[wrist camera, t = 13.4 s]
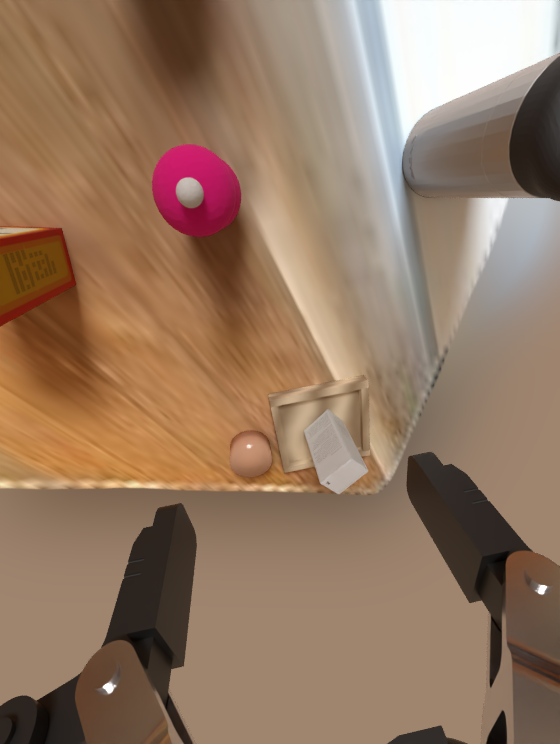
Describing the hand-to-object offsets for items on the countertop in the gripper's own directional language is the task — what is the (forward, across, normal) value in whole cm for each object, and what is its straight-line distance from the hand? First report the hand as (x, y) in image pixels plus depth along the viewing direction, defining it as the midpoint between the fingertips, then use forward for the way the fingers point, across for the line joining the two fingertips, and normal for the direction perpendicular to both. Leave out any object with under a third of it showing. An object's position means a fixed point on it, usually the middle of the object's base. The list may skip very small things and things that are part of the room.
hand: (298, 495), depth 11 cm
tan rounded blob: (+36, +6, +29) cm, 47 cm away
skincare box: (+36, -7, +27) cm, 45 cm away
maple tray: (+36, -7, +27) cm, 46 cm away
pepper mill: (+36, +3, -10) cm, 38 cm away
